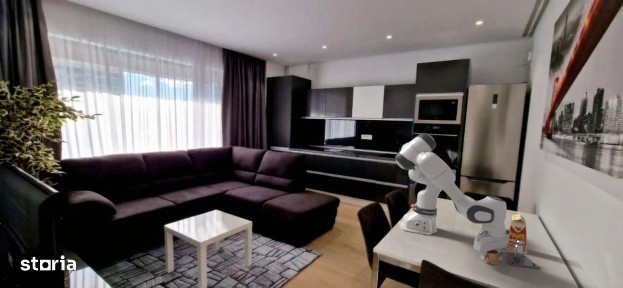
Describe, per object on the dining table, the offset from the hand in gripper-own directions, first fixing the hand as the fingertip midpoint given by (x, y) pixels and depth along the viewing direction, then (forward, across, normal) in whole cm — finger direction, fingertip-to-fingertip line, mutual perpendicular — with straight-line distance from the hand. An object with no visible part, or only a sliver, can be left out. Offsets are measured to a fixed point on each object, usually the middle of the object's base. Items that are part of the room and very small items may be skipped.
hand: (489, 257), depth 121 cm
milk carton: (+2, +26, +4) cm, 27 cm away
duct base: (+2, +14, -4) cm, 15 cm away
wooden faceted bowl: (+2, 0, 0) cm, 2 cm away
